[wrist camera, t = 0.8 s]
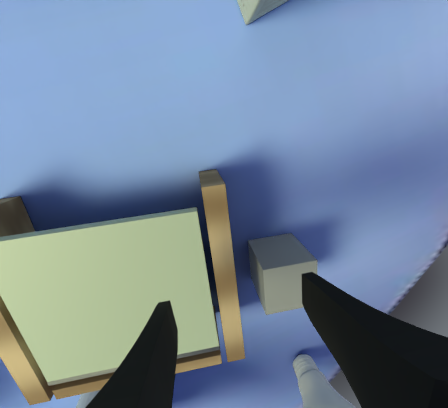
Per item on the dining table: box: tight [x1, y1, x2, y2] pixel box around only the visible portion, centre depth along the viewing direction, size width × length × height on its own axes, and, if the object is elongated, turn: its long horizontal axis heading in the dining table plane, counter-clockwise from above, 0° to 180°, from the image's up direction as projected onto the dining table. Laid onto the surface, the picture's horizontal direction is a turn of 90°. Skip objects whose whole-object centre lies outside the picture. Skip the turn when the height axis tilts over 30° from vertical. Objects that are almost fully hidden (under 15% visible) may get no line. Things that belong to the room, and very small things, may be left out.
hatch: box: [0, 207, 220, 386], centre depth 16 cm, size 12×13×1 cm
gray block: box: [248, 233, 317, 315], centre depth 21 cm, size 4×4×5 cm
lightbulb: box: [293, 354, 356, 408], centre depth 23 cm, size 6×6×11 cm
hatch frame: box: [0, 169, 245, 405], centre depth 19 cm, size 15×17×6 cm
